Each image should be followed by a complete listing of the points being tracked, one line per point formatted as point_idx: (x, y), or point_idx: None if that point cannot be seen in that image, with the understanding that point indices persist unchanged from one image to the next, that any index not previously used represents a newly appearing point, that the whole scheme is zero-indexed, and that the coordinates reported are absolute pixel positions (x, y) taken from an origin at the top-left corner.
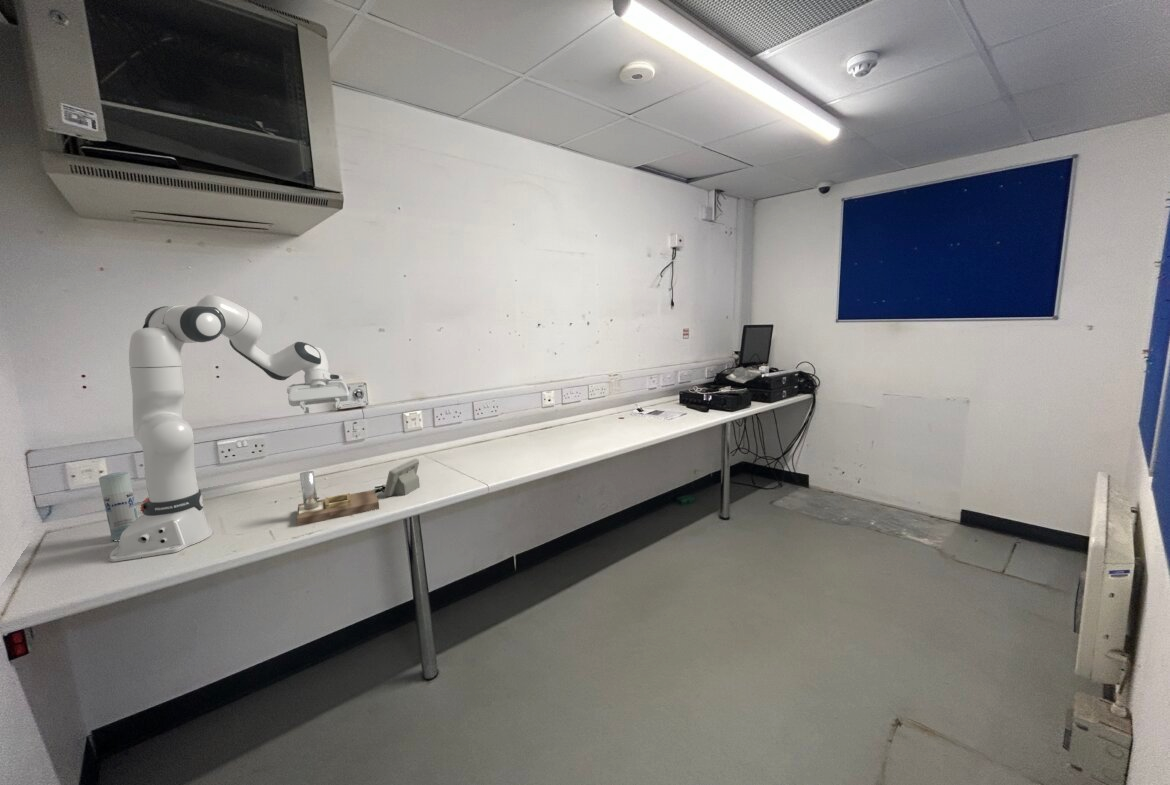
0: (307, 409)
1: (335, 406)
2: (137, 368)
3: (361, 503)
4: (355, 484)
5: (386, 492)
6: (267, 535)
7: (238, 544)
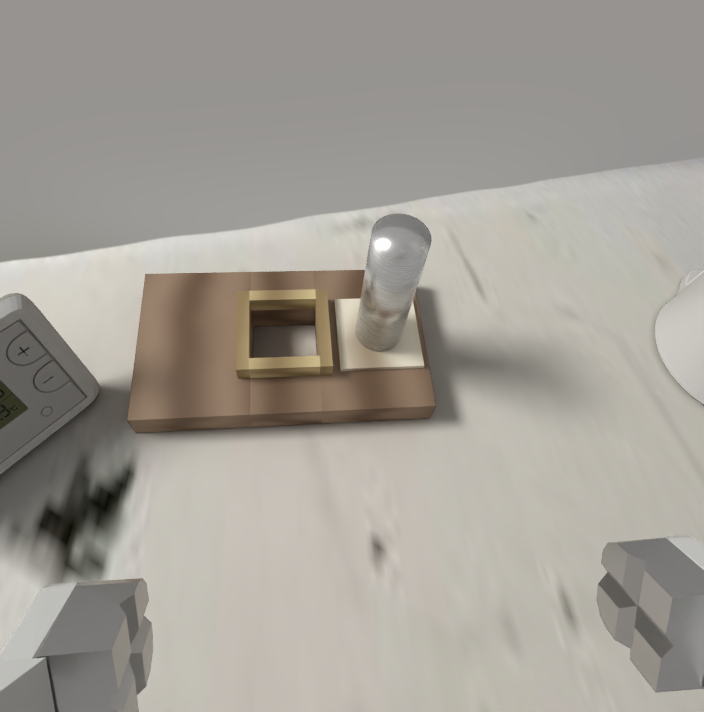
0: (649, 554)
1: (75, 600)
2: None
3: (204, 290)
4: (191, 697)
5: (88, 371)
6: (479, 266)
7: (539, 248)
